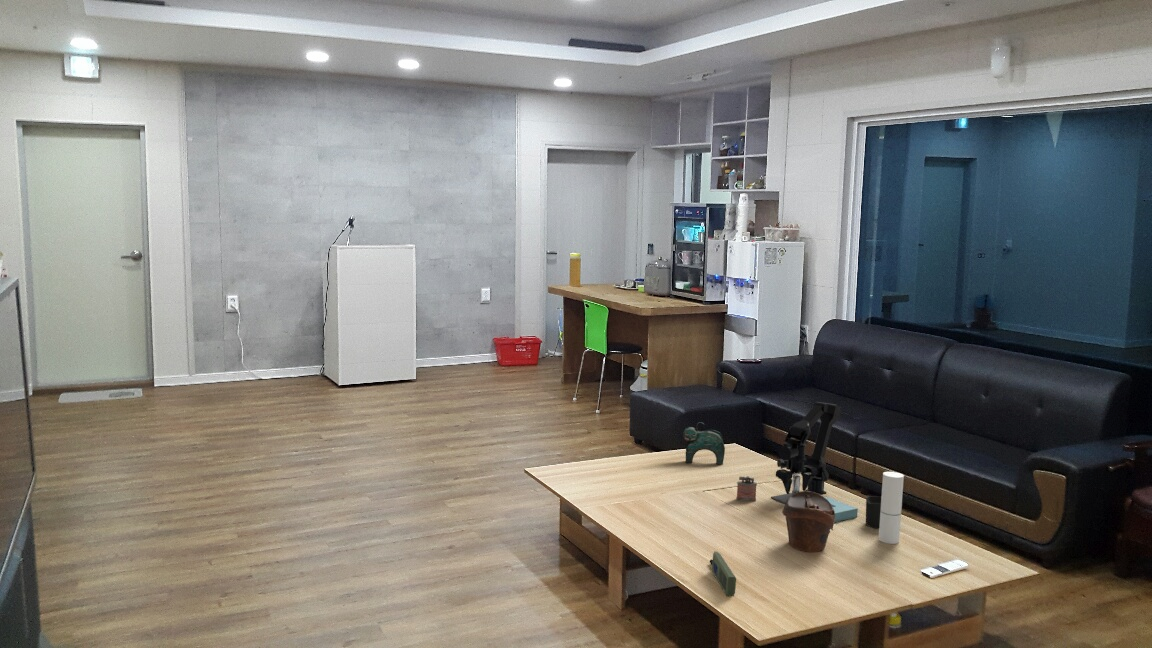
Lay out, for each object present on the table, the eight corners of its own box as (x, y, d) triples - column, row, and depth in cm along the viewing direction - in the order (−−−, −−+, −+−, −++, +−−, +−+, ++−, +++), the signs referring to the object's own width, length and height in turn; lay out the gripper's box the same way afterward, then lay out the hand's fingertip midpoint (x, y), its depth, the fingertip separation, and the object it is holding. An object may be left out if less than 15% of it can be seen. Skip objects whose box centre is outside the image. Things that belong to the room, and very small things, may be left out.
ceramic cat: (681, 463, 414) (683, 422, 412) (682, 459, 421) (684, 419, 418) (724, 466, 411) (726, 425, 409) (724, 462, 418) (726, 421, 415)
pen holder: (891, 523, 339) (893, 498, 338) (889, 531, 331) (890, 505, 330) (866, 519, 343) (867, 494, 342) (863, 526, 335) (864, 501, 334)
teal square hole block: (826, 504, 359) (827, 496, 359) (857, 516, 346) (857, 508, 345) (798, 510, 351) (798, 502, 351) (828, 523, 338) (828, 514, 337)
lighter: (755, 499, 365) (756, 476, 363) (756, 501, 361) (757, 478, 360) (736, 498, 365) (737, 475, 364) (736, 500, 362) (737, 477, 361)
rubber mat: (795, 493, 373) (795, 491, 373) (819, 503, 361) (819, 501, 361) (770, 498, 366) (771, 496, 366) (794, 508, 354) (795, 506, 354)
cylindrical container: (898, 538, 324) (903, 473, 321) (899, 544, 317) (904, 478, 314) (878, 535, 326) (883, 470, 323) (878, 542, 319) (883, 476, 316)
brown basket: (807, 559, 301) (811, 509, 299) (769, 540, 319) (772, 492, 317) (846, 552, 310) (849, 503, 308) (807, 533, 327) (810, 487, 325)
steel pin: (795, 497, 366) (796, 474, 365) (800, 499, 363) (801, 476, 362) (790, 498, 364) (791, 475, 363) (795, 500, 362) (796, 477, 360)
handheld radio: (725, 597, 271) (705, 564, 296) (735, 597, 272) (715, 564, 296) (727, 576, 271) (707, 545, 295) (737, 576, 271) (717, 546, 296)
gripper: (800, 448, 373) (798, 483, 375) (767, 453, 364) (765, 489, 366) (819, 454, 364) (817, 491, 366) (786, 460, 354) (784, 497, 356)
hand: (795, 492), depth 363 cm, fingers open, 9 cm apart
